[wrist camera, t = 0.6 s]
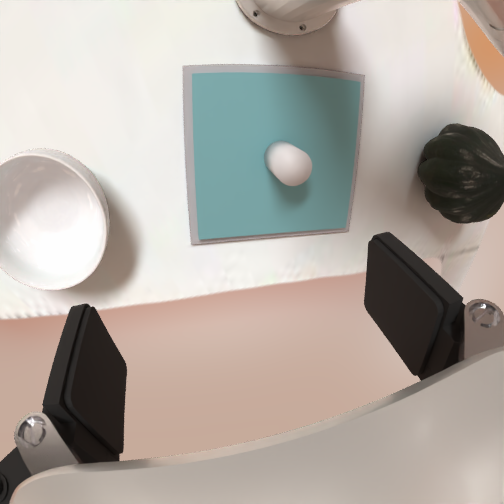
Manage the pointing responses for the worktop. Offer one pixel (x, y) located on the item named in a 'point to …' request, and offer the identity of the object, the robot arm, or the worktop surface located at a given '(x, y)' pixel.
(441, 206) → the squash
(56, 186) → the cereal bowl
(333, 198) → the lid
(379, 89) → the worktop surface
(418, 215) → the worktop surface
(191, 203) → the mat
